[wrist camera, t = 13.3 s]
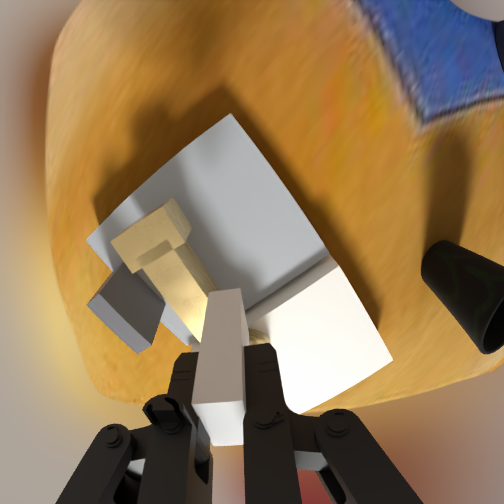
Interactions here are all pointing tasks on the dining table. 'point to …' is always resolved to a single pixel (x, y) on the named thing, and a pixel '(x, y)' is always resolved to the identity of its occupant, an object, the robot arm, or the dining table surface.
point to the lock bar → (172, 264)
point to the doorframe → (245, 267)
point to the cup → (468, 291)
